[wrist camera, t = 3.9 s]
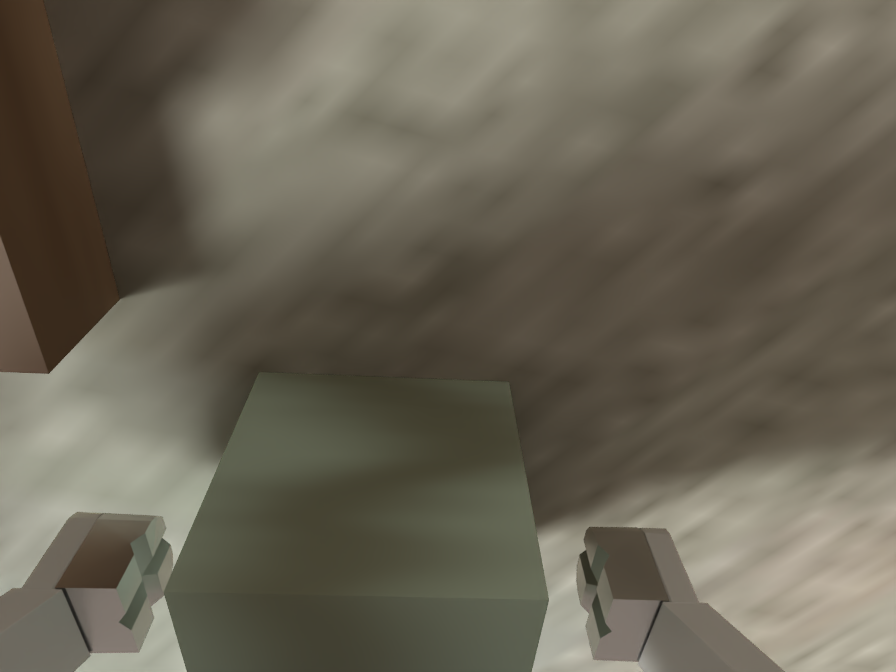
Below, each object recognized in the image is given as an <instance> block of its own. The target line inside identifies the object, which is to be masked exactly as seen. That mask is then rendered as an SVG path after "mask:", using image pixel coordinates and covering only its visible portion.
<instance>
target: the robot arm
mask: <svg viewBox="0 0 896 672" xmlns="http://www.w3.org/2000/svg"><path fill="white" fill-rule="evenodd" d="M165 530H166V526H165V523H164V520H163V517H161V516H150V515H131V514H112V513H86V512H76V513H75V514H74V515H72V516H71V517H70V518H69V519H68V520H67V521H66V523H65V524H64V526H63V527H62V529H61V530H60V532H59V533H58V535H57V536H56V538H55V539H54V541H53V542H52V543H51V545H50V546H49V548H48V549H47V551H46V552H45V554H44V555H43V557H42V558H41V560H40V561H39V563H38V564H37V566H36V567H35V569H34V570H33V572H32V573H31V575H30V576H29V578H28V579H27V581H26V582H25V584H24V585H23V587H22V588H13V589H11V590H10V591H8V592H7V593H5V594H4V595H2V596H0V672H74V671H75V670H76V669H77V668H78V667H79V666H80V665H81V664H82V663H84V662H85V661H86V660H87V659H88V658H89V657H90V653H132V652H140V649H141V647H142V645H143V643H144V640H145V638H146V636H147V633H148V631H149V629H150V627H151V624H152V622H153V620H154V615H153V612H152V609H151V606H152V605H153V604H154V603H156V602H157V601H158V600H159V599H160V598H162V597H163V596H164V590H165V587H166V585H167V583H168V580H169V578H170V576H171V573H172V568H173V553H172V549H171V545H170V544H169V543H168V542H166V541H165V540H164V539H163V538H162V537H163V535H164V532H165ZM584 543H585V547H586V550H585V551H584V552H583V553H581V554H580V555H579V559H578V564H577V578H576V581H577V590H578V595H579V600H580V604H581V605H582V607H583V608H584V609H585V610H586V611H587V612H588V613H589V616H588V619H587V623H586V630H587V635H588V639H589V643H590V647H591V651H592V656H593V660H611V661H633V662H638V665H639V666H640V668H641V669H642V670H643V671H644V672H785V671H784V670H782V669H781V668H780V667H779V666H778V665H777V664H776V663H775V662H773V661H772V660H771V659H770V658H769V657H768V656H767V655H765V654H764V653H763V652H762V651H761V650H760V649H759V648H758V647H756V646H755V645H754V644H753V643H752V642H751V641H750V640H748V639H747V638H746V637H745V636H744V635H743V634H742V633H741V632H739V631H738V630H737V629H736V628H735V627H734V626H733V625H731V624H730V623H729V622H728V621H727V620H726V619H725V618H723V617H722V616H721V615H720V614H719V613H718V612H717V611H716V610H714V609H713V608H712V607H711V606H710V605H709V604H708V603H699V601H698V598H697V596H696V594H695V591H694V589H693V587H692V584H691V582H690V580H689V577H688V575H687V573H686V570H685V568H684V566H683V563H682V561H681V559H680V556H679V554H678V551H677V549H676V547H675V544H674V542H673V540H672V537H671V535H670V533H669V532H668V531H667V530H666V529H663V528H637V527H589V528H588V529H587V530H586V533H585V536H584Z"/></svg>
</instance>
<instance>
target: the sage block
mask: <svg viewBox="0 0 896 672" xmlns="http://www.w3.org/2000/svg"><path fill="white" fill-rule="evenodd" d="M164 595H165V598H166V602H167V605H168V609H169V612H170V615H171V619H172V622H173V626H174V629H175V632H176V636H177V639H178V643H179V646H180V649H181V653H182V656H183V660H184V663H185V666H186V670H187V672H532V668H533V663H534V659H535V655H536V651H537V647H538V643H539V639H540V635H541V630H542V626H543V622H544V618H545V614H546V610H547V606H548V602H549V598H548V592H547V587H546V581H545V576H544V570H543V565H542V559H541V554H540V548H539V543H538V537H537V532H536V526H535V521H534V516H533V510H532V505H531V499H530V494H529V488H528V483H527V477H526V472H525V466H524V461H523V455H522V450H521V445H520V439H519V434H518V428H517V423H516V417H515V412H514V406H513V401H512V395H511V390H510V384H509V382H502V381H477V380H452V379H426V378H401V377H375V376H350V375H324V374H299V373H273V372H259V373H258V375H257V378H256V380H255V382H254V385H253V387H252V389H251V392H250V394H249V396H248V399H247V401H246V403H245V405H244V408H243V410H242V412H241V415H240V417H239V419H238V422H237V424H236V426H235V428H234V431H233V433H232V435H231V438H230V440H229V442H228V445H227V447H226V449H225V451H224V454H223V456H222V458H221V461H220V463H219V465H218V468H217V470H216V472H215V474H214V477H213V479H212V481H211V484H210V486H209V488H208V491H207V493H206V495H205V498H204V500H203V502H202V504H201V507H200V509H199V511H198V514H197V516H196V518H195V521H194V523H193V525H192V527H191V530H190V532H189V534H188V537H187V539H186V541H185V544H184V546H183V548H182V550H181V553H180V555H179V557H178V560H177V562H176V564H175V567H174V569H173V571H172V573H171V576H170V578H169V580H168V583H167V585H166V587H165V590H164Z"/></svg>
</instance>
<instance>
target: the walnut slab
mask: <svg viewBox="0 0 896 672" xmlns="http://www.w3.org/2000/svg"><path fill="white" fill-rule="evenodd" d="M119 300H120V298H119V294H118V290H117V286H116V282H115V278H114V274H113V271H112V267H111V263H110V259H109V255H108V251H107V247H106V243H105V239H104V235H103V232H102V228H101V224H100V220H99V216H98V212H97V208H96V204H95V200H94V196H93V192H92V189H91V185H90V181H89V177H88V173H87V169H86V165H85V161H84V157H83V153H82V149H81V146H80V142H79V138H78V134H77V130H76V126H75V122H74V118H73V114H72V110H71V106H70V103H69V99H68V95H67V91H66V87H65V83H64V79H63V75H62V71H61V67H60V64H59V60H58V56H57V52H56V48H55V44H54V40H53V36H52V32H51V28H50V24H49V21H48V17H47V13H46V9H45V5H44V1H43V0H0V372H19V373H46V374H49V373H50V372H51V371H52V370H53V369H54V368H55V367H56V366H57V365H58V364H59V362H60V361H61V360H62V359H63V358H64V357H65V356H66V355H67V354H68V353H69V352H70V351H71V350H72V349H73V348H74V347H75V346H76V345H77V344H78V343H79V341H80V340H81V339H82V338H83V337H84V336H85V335H86V334H87V333H88V332H89V331H90V330H91V329H92V328H93V327H94V326H95V325H96V324H97V323H98V322H99V321H100V319H101V318H102V317H103V316H104V315H105V314H106V313H107V312H108V311H109V310H110V309H111V308H112V307H113V306H114V305H115V304H116V303H117V302H118V301H119Z"/></svg>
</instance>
